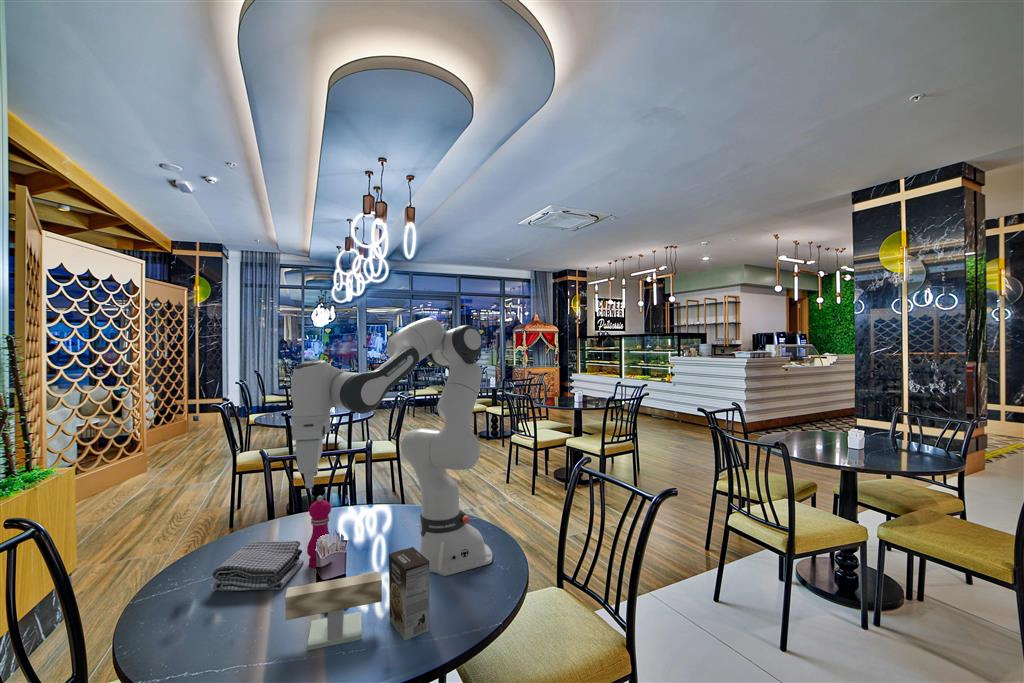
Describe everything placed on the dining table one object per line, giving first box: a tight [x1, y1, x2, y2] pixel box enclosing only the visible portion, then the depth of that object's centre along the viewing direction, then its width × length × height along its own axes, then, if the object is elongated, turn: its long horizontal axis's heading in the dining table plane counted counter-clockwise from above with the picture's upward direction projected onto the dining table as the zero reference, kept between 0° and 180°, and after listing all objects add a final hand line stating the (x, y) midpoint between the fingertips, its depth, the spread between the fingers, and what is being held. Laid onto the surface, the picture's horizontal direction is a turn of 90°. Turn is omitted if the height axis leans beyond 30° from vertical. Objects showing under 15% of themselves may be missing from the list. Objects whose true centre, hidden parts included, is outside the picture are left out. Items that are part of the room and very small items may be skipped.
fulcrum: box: [306, 609, 363, 651], centre depth 103 cm, size 11×9×6 cm
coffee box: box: [388, 546, 431, 641], centre depth 105 cm, size 9×6×16 cm
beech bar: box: [284, 571, 383, 621], centre depth 103 cm, size 20×4×5 cm, turn 110°
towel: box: [211, 540, 305, 592], centre depth 126 cm, size 15×18×8 cm
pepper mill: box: [306, 495, 332, 569], centre depth 134 cm, size 7×7×20 cm
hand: (311, 481), depth 113 cm, fingers open, 8 cm apart
